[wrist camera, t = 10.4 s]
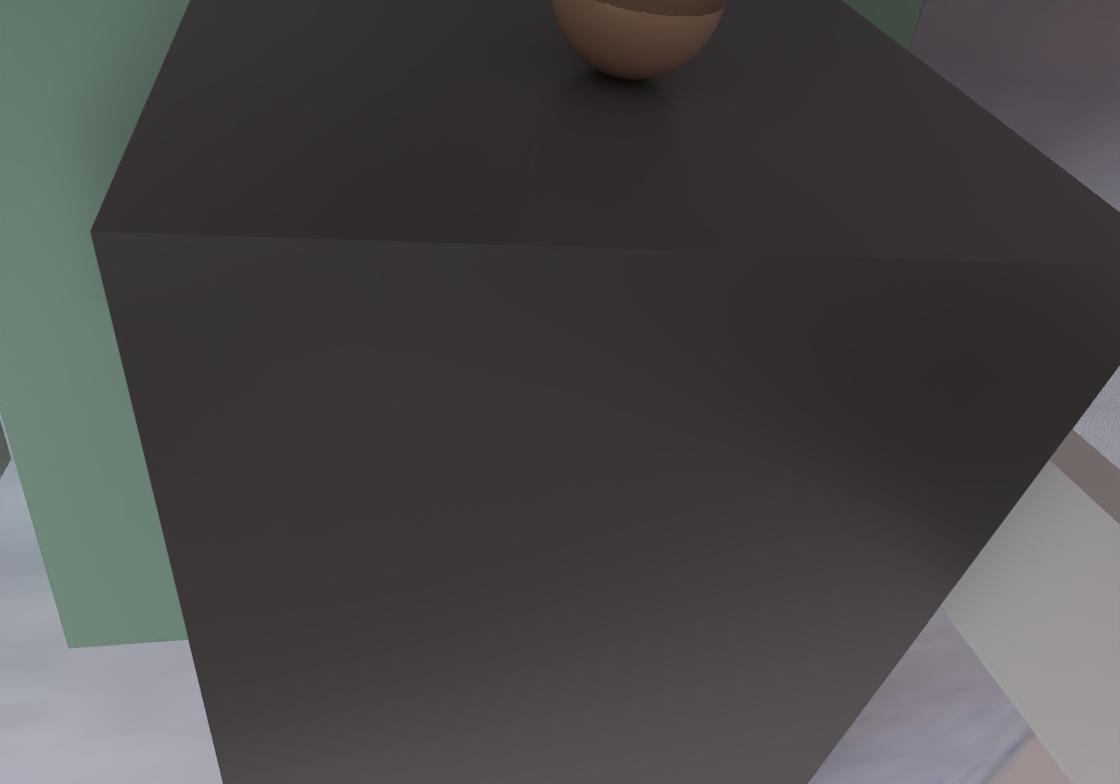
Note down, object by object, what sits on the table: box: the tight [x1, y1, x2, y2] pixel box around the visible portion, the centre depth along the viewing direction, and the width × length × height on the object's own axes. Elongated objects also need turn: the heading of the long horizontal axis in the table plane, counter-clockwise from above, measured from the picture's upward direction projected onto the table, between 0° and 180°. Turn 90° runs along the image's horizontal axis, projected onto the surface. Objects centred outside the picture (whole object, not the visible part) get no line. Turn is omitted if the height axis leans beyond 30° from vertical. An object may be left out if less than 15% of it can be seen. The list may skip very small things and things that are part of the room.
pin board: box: [0, 0, 925, 648], centre depth 13 cm, size 14×16×4 cm
